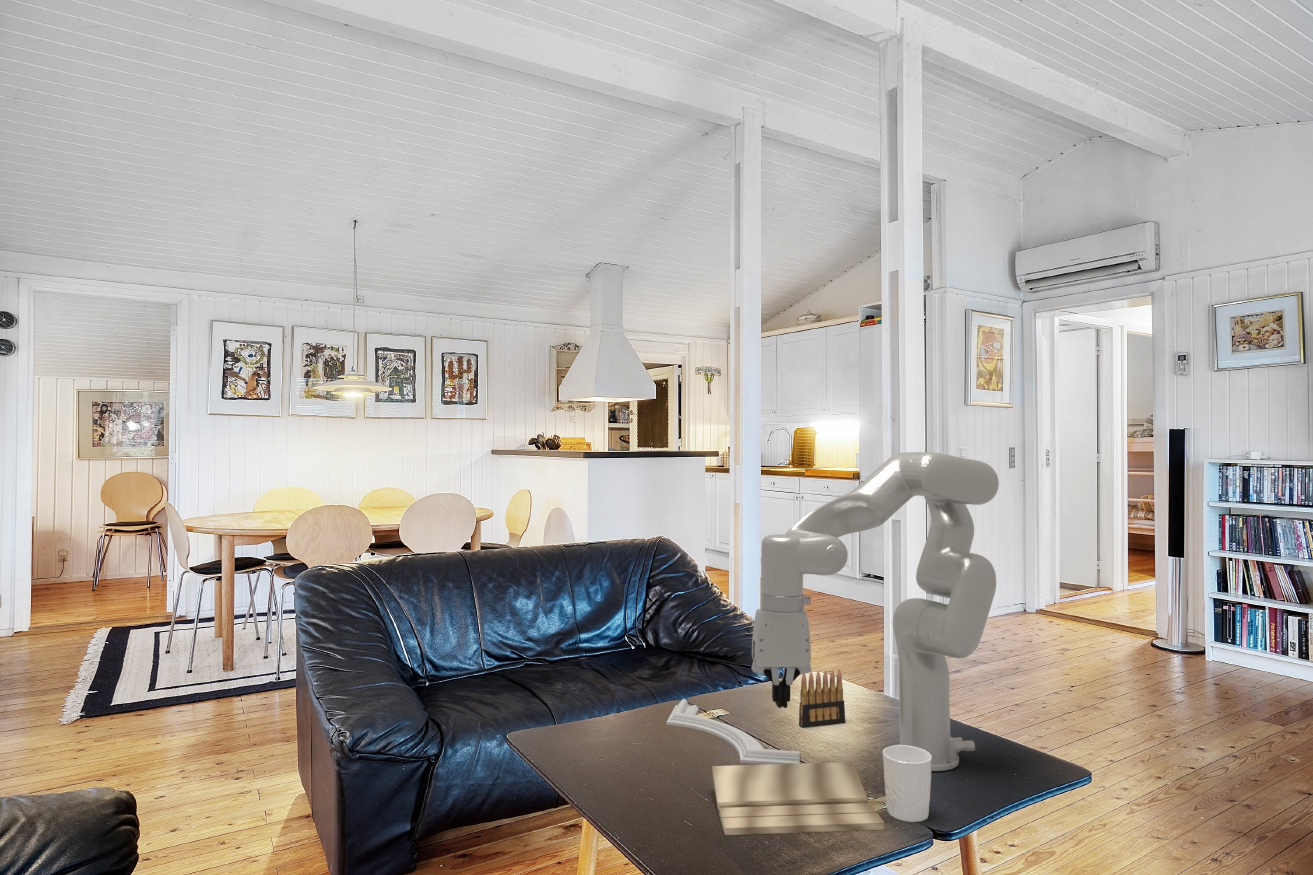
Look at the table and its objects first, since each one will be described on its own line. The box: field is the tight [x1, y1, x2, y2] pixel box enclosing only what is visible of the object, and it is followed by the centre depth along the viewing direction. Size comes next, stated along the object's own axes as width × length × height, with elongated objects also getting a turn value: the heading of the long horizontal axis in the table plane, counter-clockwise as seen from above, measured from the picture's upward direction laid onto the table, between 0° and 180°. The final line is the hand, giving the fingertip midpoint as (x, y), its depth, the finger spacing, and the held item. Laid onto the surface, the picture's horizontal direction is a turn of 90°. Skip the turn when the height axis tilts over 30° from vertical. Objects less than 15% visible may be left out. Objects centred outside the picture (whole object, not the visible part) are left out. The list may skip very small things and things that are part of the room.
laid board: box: [718, 802, 885, 836], centre depth 127 cm, size 26×7×1 cm, turn 93°
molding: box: [666, 698, 801, 765], centre depth 166 cm, size 42×12×3 cm, turn 33°
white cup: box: [882, 744, 932, 823], centre depth 131 cm, size 8×8×10 cm
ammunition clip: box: [798, 668, 846, 729], centre depth 173 cm, size 11×2×12 cm, turn 106°
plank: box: [711, 761, 870, 812], centre depth 136 cm, size 26×9×1 cm, turn 93°
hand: (781, 705), depth 139 cm, fingers closed
